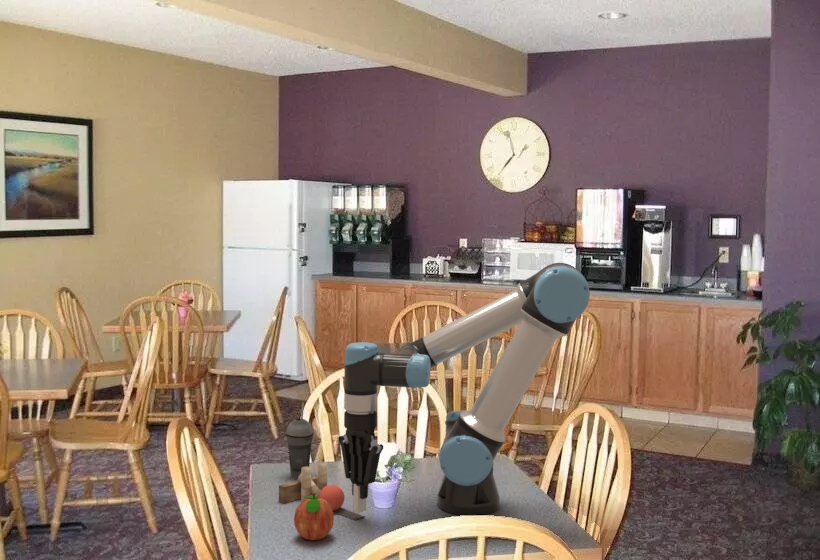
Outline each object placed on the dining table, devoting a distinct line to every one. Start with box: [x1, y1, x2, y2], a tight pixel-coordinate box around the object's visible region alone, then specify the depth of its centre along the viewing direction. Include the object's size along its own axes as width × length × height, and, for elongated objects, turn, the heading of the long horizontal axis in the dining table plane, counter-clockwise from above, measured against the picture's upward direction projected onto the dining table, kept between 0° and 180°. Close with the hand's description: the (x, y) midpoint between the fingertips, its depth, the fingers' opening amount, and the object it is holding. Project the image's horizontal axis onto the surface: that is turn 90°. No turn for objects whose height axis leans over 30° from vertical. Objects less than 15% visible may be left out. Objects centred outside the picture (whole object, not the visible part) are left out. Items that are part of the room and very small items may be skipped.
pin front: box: [297, 474, 321, 498], centre depth 220 cm, size 2×2×9 cm
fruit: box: [293, 493, 335, 541], centre depth 196 cm, size 9×10×10 cm
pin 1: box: [300, 466, 312, 503], centre depth 217 cm, size 2×2×9 cm
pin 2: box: [316, 461, 328, 490], centre depth 221 cm, size 2×2×9 cm
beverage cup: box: [285, 402, 314, 480], centre depth 238 cm, size 7×7×20 cm
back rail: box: [278, 474, 317, 504], centre depth 223 cm, size 12×2×4 cm, turn 136°
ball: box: [319, 484, 345, 511], centre depth 214 cm, size 6×6×6 cm
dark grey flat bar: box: [333, 507, 365, 521], centre depth 212 cm, size 10×3×1 cm, turn 46°
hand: (359, 510), depth 208 cm, fingers closed
